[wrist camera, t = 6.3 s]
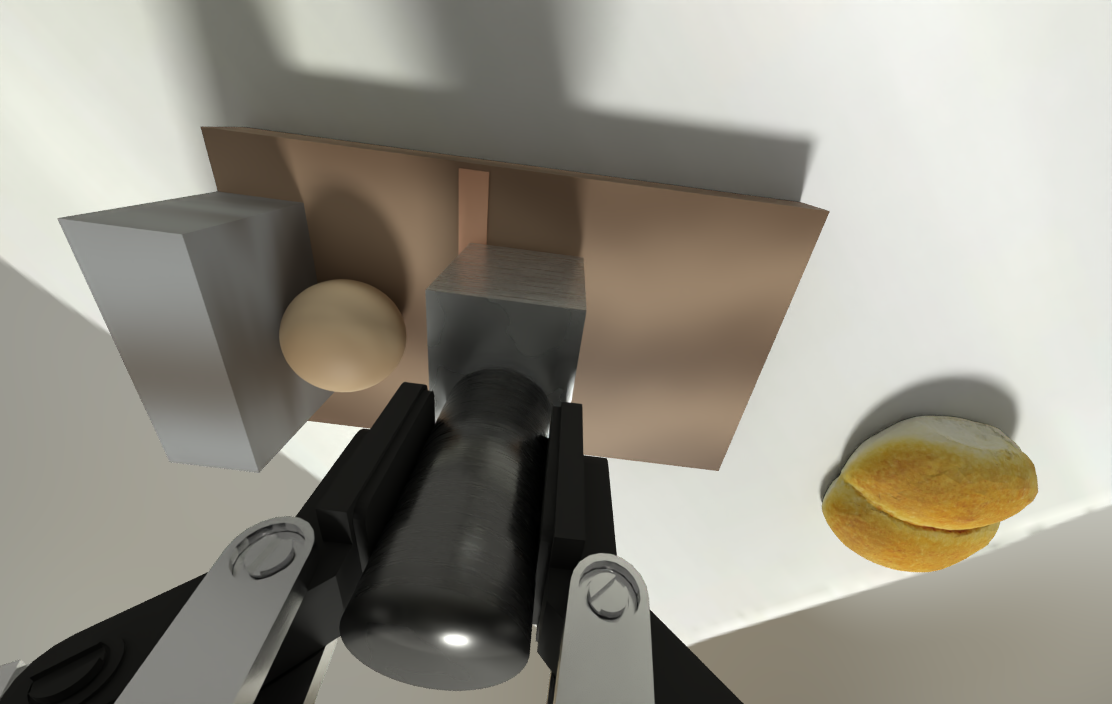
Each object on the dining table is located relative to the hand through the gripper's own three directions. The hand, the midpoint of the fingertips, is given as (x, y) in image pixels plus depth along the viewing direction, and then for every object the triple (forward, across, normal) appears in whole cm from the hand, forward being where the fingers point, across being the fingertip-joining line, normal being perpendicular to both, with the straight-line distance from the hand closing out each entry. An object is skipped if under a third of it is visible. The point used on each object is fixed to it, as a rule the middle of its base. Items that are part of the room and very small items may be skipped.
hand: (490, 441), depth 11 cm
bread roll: (+9, -21, +7) cm, 24 cm away
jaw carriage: (+6, 0, 0) cm, 6 cm away
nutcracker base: (+9, 0, 0) cm, 9 cm away
